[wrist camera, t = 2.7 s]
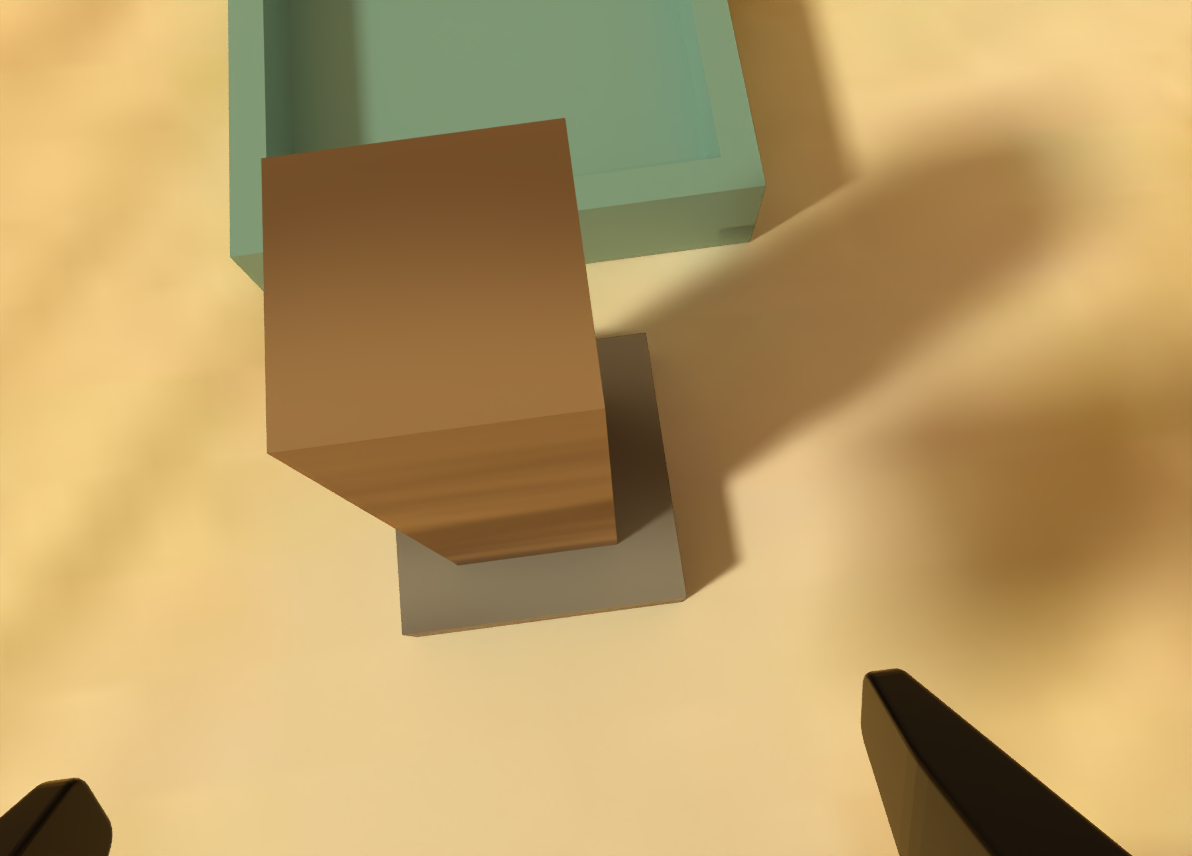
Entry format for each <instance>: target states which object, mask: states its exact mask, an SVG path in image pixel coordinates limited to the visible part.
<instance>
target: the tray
mask: <svg viewBox="0 0 1192 856" xmlns="http://www.w3.org/2000/svg"><path fill="white" fill-rule="evenodd" d="M228 39H229V172H230V257H231V258H232V259H233V260H234V261H235V263H236V264H237V265H238V266H239V267H240V268H241V269H242V270H243V271H244V272H245V273H246V274H247V275H248V276H249V277H250V278H251V279H252V280H253V281H254V282H255V283H256V284H257V285H258V286H259V287H260V288H261V289H262V290H263V291H264V277H263V226H262V176H261V158H267V157H275V156H282V155H290V154H297V153H305V152H312V151H320V150H327V149H335V148H342V147H350V146H357V145H365V144H372V143H380V142H387V141H395V140H402V139H409V138H417V137H424V136H432V135H439V134H447V133H454V132H462V131H469V130H477V129H484V128H492V127H499V126H507V125H514V124H522V123H529V122H537V121H544V120H552V119H559V118H565V120H566V127H567V134H568V141H569V149H570V156H571V163H572V171H573V178H574V185H575V193H576V200H577V207H578V215H579V222H580V229H581V236H582V244H583V251H584V258H585V264H587V263H594V262H602V261H609V260H617V259H624V258H632V257H639V256H647V255H654V254H662V253H669V252H677V251H684V250H692V249H699V248H707V247H714V246H722V245H729V244H737V243H744V242H750V240H751V236H752V233H753V229H754V226H755V222H756V219H757V215H758V212H759V208H760V205H761V201H762V198H763V194H764V191H765V187H766V183H765V178H764V173H763V169H762V164H761V159H760V154H759V150H758V145H757V140H756V135H755V130H754V126H753V121H752V116H751V111H750V106H749V102H748V97H747V92H746V87H745V82H744V78H743V73H742V68H741V63H740V59H739V54H738V49H737V44H736V39H735V35H734V30H733V25H732V20H731V15H730V11H729V6H728V1H727V0H228Z"/></svg>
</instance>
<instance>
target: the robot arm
mask: <svg viewBox="0 0 1192 856" xmlns="http://www.w3.org/2000/svg"><path fill="white" fill-rule="evenodd" d="M861 730H862V735H863V740H864V744H865V747H866V750H867V753H868V757H869V760H870V763H871V766H872V769H873V773H874V776H875V779H876V782H877V785H878V789H879V792H880V795H881V798H882V801H883V805H884V808H885V811H886V814H887V817H888V821H889V824H890V827H891V830H892V833H893V837H894V840H895V843H896V846H897V849H898V852H899V855H900V856H1132V855H1131V854H1129V853H1128V852H1127V851H1126V850H1124V849H1123V848H1122V847H1121V846H1120V845H1118V844H1117V843H1116V842H1115V841H1113V840H1112V839H1111V838H1110V837H1108V836H1107V835H1106V834H1105V833H1104V832H1102V831H1101V830H1100V829H1099V828H1097V827H1096V826H1095V825H1094V824H1092V823H1091V822H1090V821H1089V820H1088V819H1086V818H1085V817H1084V816H1083V815H1081V814H1080V813H1079V812H1078V811H1076V810H1075V809H1074V808H1073V807H1072V806H1070V805H1069V804H1068V803H1067V802H1065V801H1064V800H1063V799H1062V798H1060V797H1059V796H1058V795H1057V794H1056V793H1054V792H1053V791H1052V790H1051V789H1049V788H1048V787H1047V786H1046V785H1044V784H1043V783H1042V782H1041V781H1040V780H1038V779H1037V778H1036V777H1035V776H1033V775H1032V774H1031V773H1030V772H1028V771H1027V770H1026V769H1025V768H1024V767H1022V766H1021V765H1020V764H1019V763H1017V762H1016V761H1015V760H1014V759H1012V758H1011V757H1010V756H1009V755H1008V754H1006V753H1005V752H1004V751H1003V750H1001V749H1000V748H999V747H998V746H996V745H995V744H994V743H993V742H992V741H990V740H989V739H988V738H987V737H985V736H984V735H983V734H982V733H980V732H979V731H978V730H977V729H976V728H974V727H973V726H972V725H971V724H969V723H968V722H967V721H966V720H964V719H963V718H962V717H961V716H960V715H958V714H957V713H956V712H955V711H953V710H952V709H951V708H950V707H948V706H947V705H946V704H945V703H944V702H942V701H941V700H940V699H939V698H937V697H936V696H935V695H934V694H932V693H931V692H930V691H929V690H928V689H926V688H925V687H924V686H923V685H921V684H920V683H919V682H918V681H916V680H915V679H914V678H913V677H912V676H910V675H909V674H908V673H907V672H905V671H903V670H901V669H887V670H879V671H872V672H869V673H867V674H866V675H865V677H864V679H863V690H862V709H861ZM111 843H112V826H111V822H110V820H109V818H108V817H107V815H106V813H105V812H104V810H103V808H102V807H101V805H100V804H99V802H98V800H97V799H96V797H95V796H94V794H93V792H92V791H91V789H90V788H89V786H88V785H87V783H86V782H85V781H83V780H81V779H79V778H69V779H62V780H54V781H48V782H45V783H42V784H40V785H38V786H37V787H36V788H34V789H33V790H32V791H31V792H29V793H28V794H27V795H26V796H25V797H24V798H22V799H21V800H20V801H19V802H18V803H17V804H15V805H14V806H13V807H12V808H11V809H10V810H9V811H7V812H6V813H5V814H4V815H3V816H2V817H0V856H109V852H110V848H111Z"/></svg>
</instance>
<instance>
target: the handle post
mask: <svg viewBox="0 0 1192 856" xmlns="http://www.w3.org/2000/svg"><path fill="white" fill-rule="evenodd" d="M261 176H262V226H263V277H264V327H265V377H266V428H267V454H269V455H271V456H272V457H274V458H276V459H278V460H279V461H281V462H283V463H284V464H286V465H288V466H290V467H291V468H293V469H295V470H296V471H298V472H300V473H301V474H303V475H305V476H307V477H308V478H310V479H312V480H313V481H315V482H317V483H318V484H320V485H322V486H324V487H325V488H327V489H329V490H330V491H332V492H334V493H335V494H337V495H339V496H341V497H342V498H344V499H346V500H347V501H349V502H351V503H353V504H354V505H356V506H358V507H359V508H361V509H363V510H364V511H366V512H368V513H370V514H371V515H373V516H375V517H376V518H378V519H380V520H381V521H383V522H385V523H387V524H388V525H390V526H392V527H393V528H395V529H396V541H397V558H398V574H399V590H400V606H401V622H402V635H406V636H413V637H421V636H428V635H436V634H443V633H451V632H458V631H466V630H474V629H481V628H489V627H496V626H504V625H511V624H519V623H526V622H534V621H541V620H549V619H556V618H564V617H571V616H579V615H586V614H594V613H601V612H609V611H616V610H624V609H631V608H639V607H646V606H654V605H662V604H669V603H677V602H683V601H684V600H685V598H686V590H685V584H684V577H683V571H682V564H681V558H680V551H679V545H678V538H677V532H676V526H675V519H674V513H673V506H672V500H671V493H670V487H669V480H668V474H667V468H666V461H665V455H664V448H663V442H662V435H661V429H660V422H659V416H658V409H657V403H656V397H655V390H654V384H653V377H652V371H651V364H650V358H649V351H648V345H647V338H646V333H640V334H632V335H625V336H617V337H610V338H602V339H595V331H594V324H593V317H592V309H591V302H590V295H589V288H588V280H587V273H586V266H585V258H584V251H583V244H582V236H581V229H580V222H579V215H578V207H577V200H576V193H575V185H574V178H573V171H572V163H571V156H570V149H569V141H568V134H567V127H566V120H565V118H559V119H552V120H544V121H537V122H529V123H522V124H514V125H507V126H499V127H492V128H484V129H477V130H469V131H462V132H454V133H447V134H439V135H432V136H424V137H417V138H409V139H402V140H395V141H387V142H380V143H372V144H365V145H357V146H350V147H342V148H335V149H327V150H320V151H312V152H305V153H297V154H290V155H282V156H275V157H267V158H261Z"/></svg>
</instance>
